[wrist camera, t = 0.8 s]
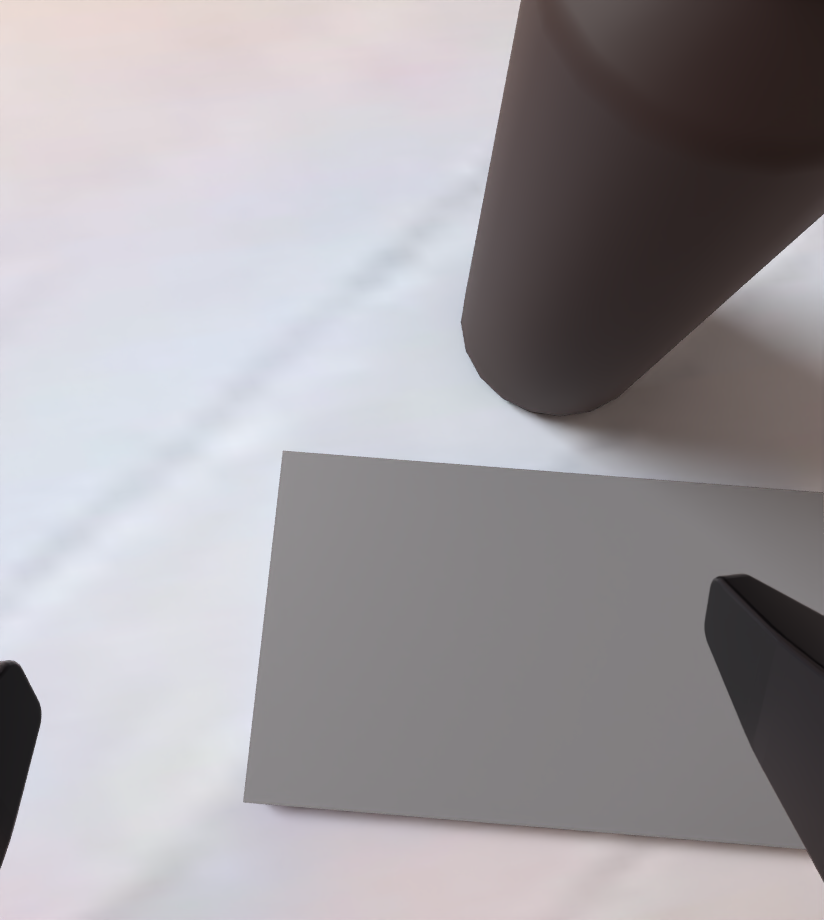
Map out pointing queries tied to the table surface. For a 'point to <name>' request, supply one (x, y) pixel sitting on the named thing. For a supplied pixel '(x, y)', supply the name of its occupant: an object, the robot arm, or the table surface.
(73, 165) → the table surface
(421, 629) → the gray board
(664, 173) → the vinegar
